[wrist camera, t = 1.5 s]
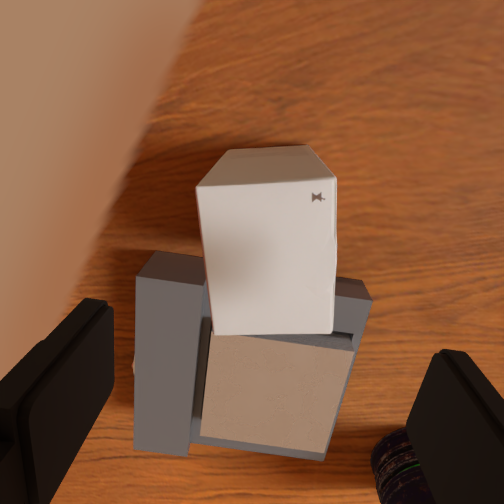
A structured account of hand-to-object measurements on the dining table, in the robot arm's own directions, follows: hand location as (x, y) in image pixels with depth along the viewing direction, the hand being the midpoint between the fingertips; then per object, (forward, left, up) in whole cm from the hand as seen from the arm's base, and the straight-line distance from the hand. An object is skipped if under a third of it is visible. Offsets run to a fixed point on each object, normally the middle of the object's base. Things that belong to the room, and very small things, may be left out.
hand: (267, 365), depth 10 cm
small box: (0, 0, -20) cm, 20 cm away
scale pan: (+15, +2, -17) cm, 23 cm away
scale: (+15, 0, -20) cm, 25 cm away
